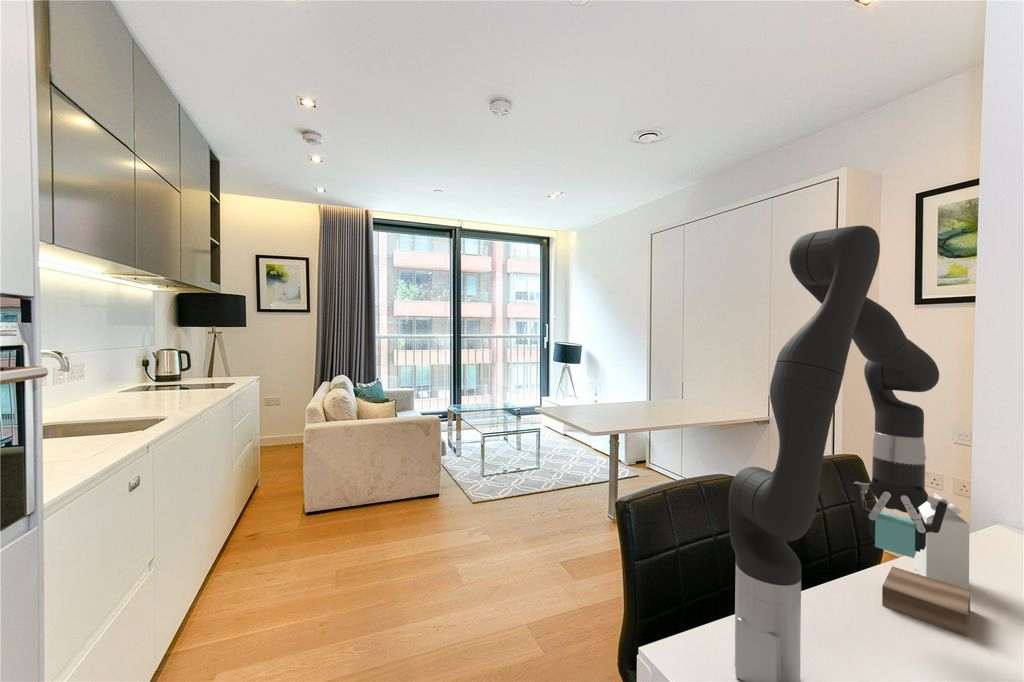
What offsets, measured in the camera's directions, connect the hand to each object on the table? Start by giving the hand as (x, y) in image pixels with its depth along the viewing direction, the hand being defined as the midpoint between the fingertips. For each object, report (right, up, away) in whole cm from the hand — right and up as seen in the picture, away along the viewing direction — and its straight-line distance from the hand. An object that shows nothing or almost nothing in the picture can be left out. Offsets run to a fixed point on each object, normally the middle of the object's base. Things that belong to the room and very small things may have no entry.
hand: (896, 543), depth 82 cm
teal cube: (0, -1, 0) cm, 1 cm away
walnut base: (+11, -16, +6) cm, 20 cm away
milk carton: (+25, -16, +16) cm, 33 cm away
